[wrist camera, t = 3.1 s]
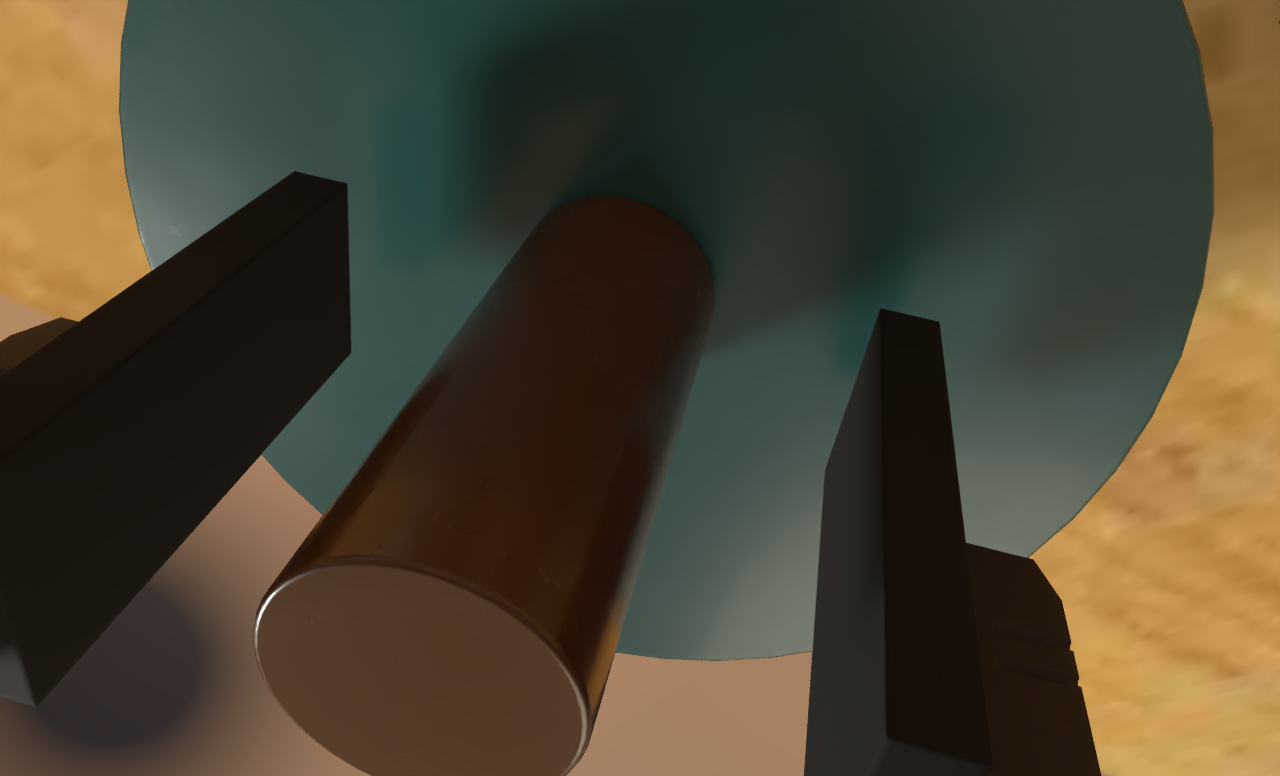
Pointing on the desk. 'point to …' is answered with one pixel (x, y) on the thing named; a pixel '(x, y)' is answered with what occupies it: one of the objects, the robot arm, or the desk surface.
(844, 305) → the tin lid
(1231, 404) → the desk surface
